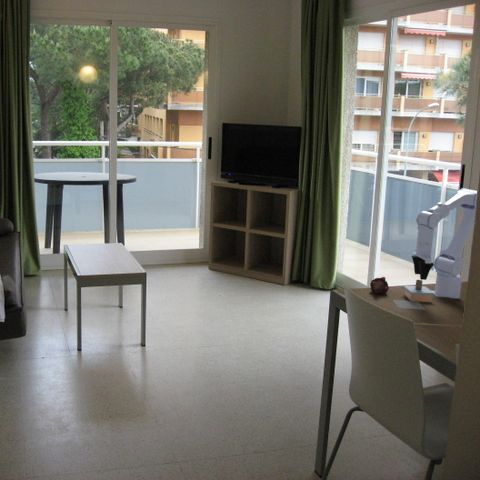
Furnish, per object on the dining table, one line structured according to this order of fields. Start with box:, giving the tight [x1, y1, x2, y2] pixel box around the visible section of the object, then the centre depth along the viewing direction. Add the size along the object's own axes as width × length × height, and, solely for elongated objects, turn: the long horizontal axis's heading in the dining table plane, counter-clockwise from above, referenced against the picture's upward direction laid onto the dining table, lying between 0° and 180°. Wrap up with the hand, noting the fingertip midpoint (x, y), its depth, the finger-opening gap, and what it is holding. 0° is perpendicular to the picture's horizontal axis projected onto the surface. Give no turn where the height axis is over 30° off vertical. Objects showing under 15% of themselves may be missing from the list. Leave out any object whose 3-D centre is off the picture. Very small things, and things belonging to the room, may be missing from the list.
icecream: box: [369, 276, 390, 295], centre depth 271 cm, size 7×7×15 cm
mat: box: [392, 299, 426, 311], centre depth 258 cm, size 10×10×1 cm
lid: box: [402, 279, 435, 296], centre depth 266 cm, size 9×9×4 cm
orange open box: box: [404, 289, 433, 303], centre depth 267 cm, size 8×8×4 cm
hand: (420, 276), depth 265 cm, fingers open, 7 cm apart
